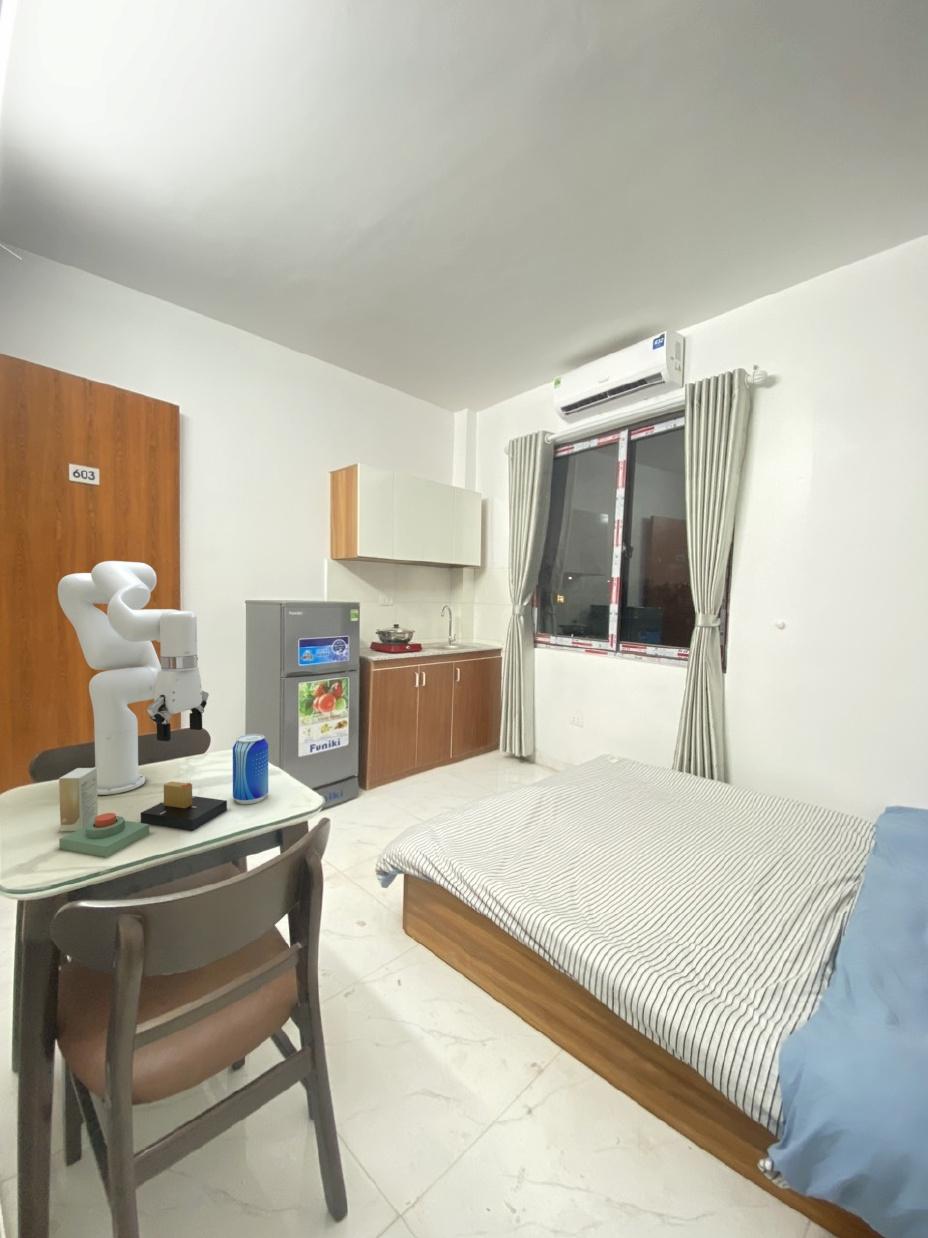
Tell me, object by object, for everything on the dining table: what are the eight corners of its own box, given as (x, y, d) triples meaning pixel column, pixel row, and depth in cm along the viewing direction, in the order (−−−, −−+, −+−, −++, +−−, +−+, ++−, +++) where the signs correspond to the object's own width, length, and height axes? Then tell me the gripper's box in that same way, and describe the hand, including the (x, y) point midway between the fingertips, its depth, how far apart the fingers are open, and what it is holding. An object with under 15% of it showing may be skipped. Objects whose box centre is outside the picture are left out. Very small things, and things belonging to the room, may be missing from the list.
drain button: (90, 827, 103) (90, 819, 103) (106, 819, 107) (106, 812, 106) (104, 829, 102) (104, 821, 102) (120, 822, 106) (120, 814, 106)
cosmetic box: (79, 819, 114) (78, 767, 114) (99, 818, 115) (98, 767, 114) (58, 832, 108) (57, 777, 107) (79, 832, 108) (78, 777, 108)
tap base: (140, 823, 113) (140, 812, 113) (178, 803, 124) (178, 793, 123) (192, 831, 110) (192, 819, 109) (227, 810, 120) (227, 799, 120)
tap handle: (163, 805, 117) (163, 783, 116) (171, 801, 119) (171, 780, 118) (185, 808, 115) (184, 786, 115) (192, 804, 117) (192, 783, 117)
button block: (59, 849, 101) (58, 830, 101) (105, 827, 111) (104, 809, 111) (106, 857, 98) (106, 838, 98) (149, 834, 108) (149, 816, 108)
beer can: (255, 807, 122) (255, 743, 122) (225, 803, 124) (225, 740, 123) (274, 794, 131) (274, 734, 130) (246, 790, 132) (246, 731, 131)
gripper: (193, 658, 126) (194, 724, 127) (134, 667, 109) (135, 744, 110) (219, 659, 124) (219, 726, 125) (162, 668, 107) (164, 746, 108)
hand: (180, 734), depth 117 cm, fingers open, 9 cm apart
